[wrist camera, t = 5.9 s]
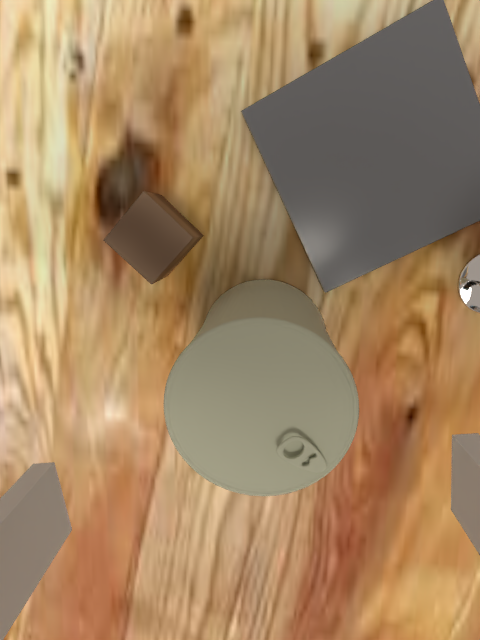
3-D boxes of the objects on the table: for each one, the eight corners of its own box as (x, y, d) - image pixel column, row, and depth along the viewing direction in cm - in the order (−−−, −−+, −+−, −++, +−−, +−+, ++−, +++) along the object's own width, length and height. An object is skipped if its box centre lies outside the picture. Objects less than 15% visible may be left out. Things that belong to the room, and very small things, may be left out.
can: (266, 419, 31) (263, 538, 19) (177, 342, 30) (119, 418, 18) (352, 338, 29) (407, 417, 17) (260, 252, 28) (253, 273, 16)
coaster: (436, 2, 23) (442, -5, 23) (507, 204, 26) (514, 204, 25) (242, 114, 26) (241, 110, 25) (323, 290, 28) (325, 292, 27)
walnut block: (161, 195, 27) (143, 190, 24) (203, 235, 28) (192, 237, 24) (126, 237, 28) (103, 240, 25) (167, 275, 29) (151, 284, 25)
